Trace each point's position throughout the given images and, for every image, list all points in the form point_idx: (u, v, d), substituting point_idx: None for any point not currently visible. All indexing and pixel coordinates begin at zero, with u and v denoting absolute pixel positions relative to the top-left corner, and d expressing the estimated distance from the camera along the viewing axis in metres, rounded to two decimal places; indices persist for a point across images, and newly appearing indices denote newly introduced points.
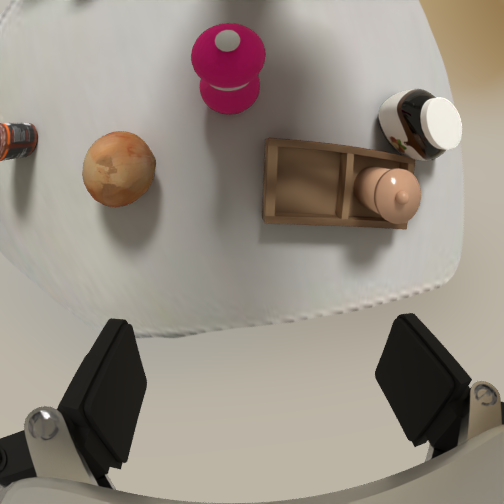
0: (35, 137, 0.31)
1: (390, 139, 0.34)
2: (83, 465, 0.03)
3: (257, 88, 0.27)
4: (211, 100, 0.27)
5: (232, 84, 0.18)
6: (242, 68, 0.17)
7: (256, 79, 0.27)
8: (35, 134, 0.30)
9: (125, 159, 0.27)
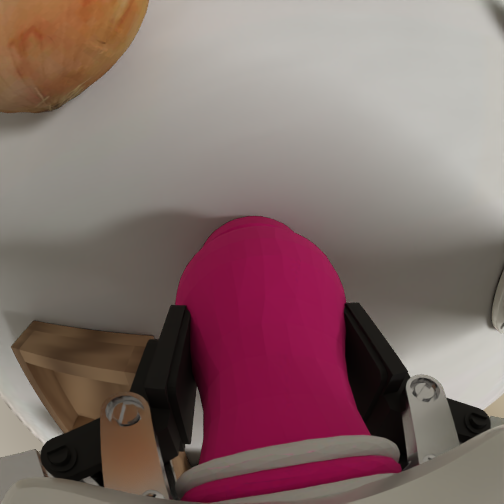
0: None
1: None
2: (159, 458, 0.04)
3: None
4: (195, 300, 0.09)
5: None
6: None
7: None
8: None
9: None
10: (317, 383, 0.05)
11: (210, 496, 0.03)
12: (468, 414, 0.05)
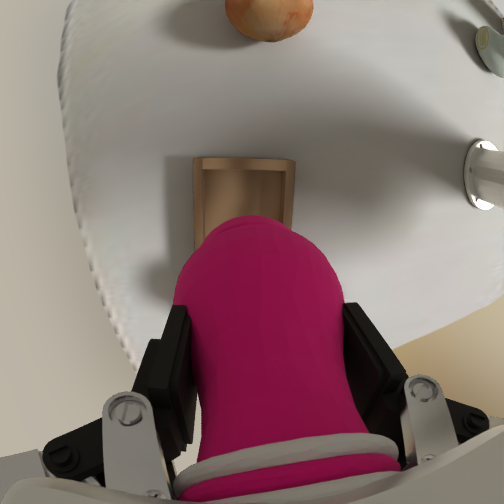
0: None
1: None
2: (161, 459, 0.04)
3: None
4: (193, 299, 0.09)
5: None
6: None
7: None
8: None
9: (286, 8, 0.18)
10: (314, 381, 0.05)
11: (208, 494, 0.03)
12: (467, 415, 0.05)
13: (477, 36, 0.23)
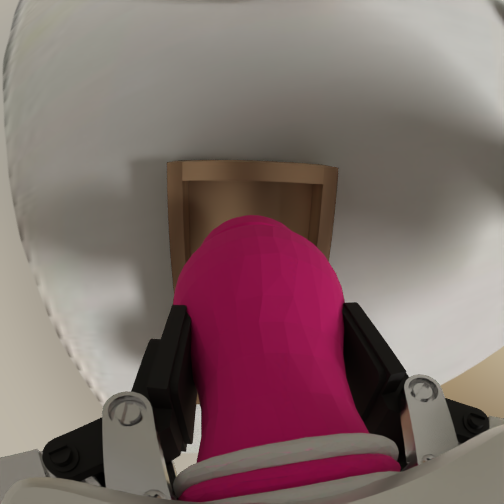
0: None
1: None
2: (161, 458, 0.04)
3: None
4: (193, 299, 0.09)
5: None
6: None
7: None
8: None
9: None
10: (314, 381, 0.05)
11: (208, 495, 0.03)
12: (467, 415, 0.05)
13: None
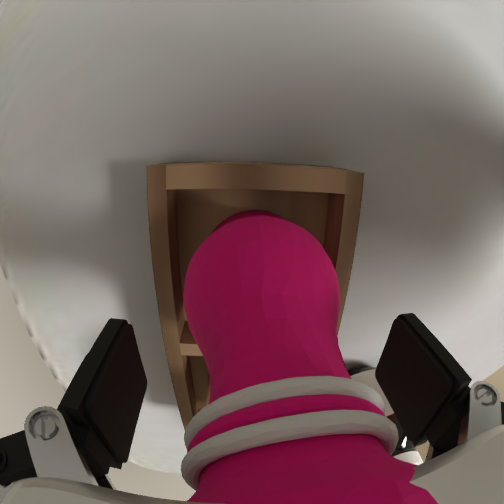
0: None
1: None
2: (83, 465, 0.03)
3: None
4: (203, 279, 0.10)
5: None
6: None
7: None
8: None
9: None
10: (308, 341, 0.07)
11: (216, 431, 0.04)
12: None
13: None
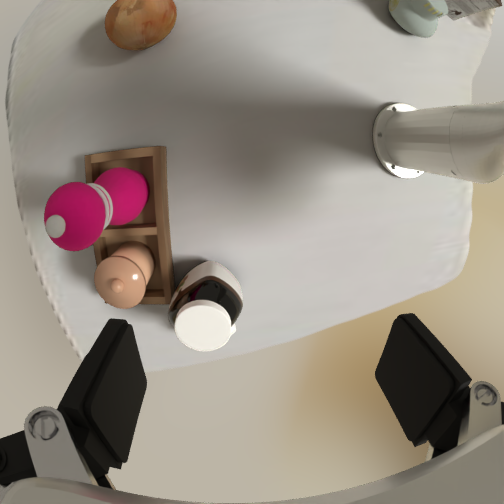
0: None
1: (186, 276, 0.39)
2: (83, 465, 0.03)
3: (111, 224, 0.30)
4: None
5: None
6: (50, 237, 0.18)
7: (116, 224, 0.30)
8: None
9: (139, 20, 0.21)
10: (102, 186, 0.24)
11: None
12: None
13: (391, 0, 0.26)
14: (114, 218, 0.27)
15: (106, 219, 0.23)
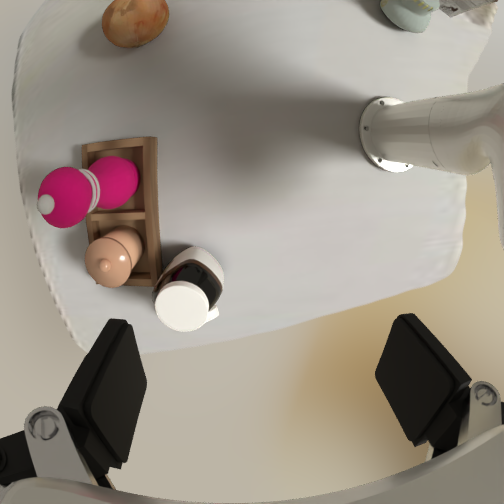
0: None
1: (172, 260, 0.41)
2: (83, 465, 0.03)
3: (102, 208, 0.32)
4: None
5: None
6: (42, 214, 0.20)
7: (106, 207, 0.31)
8: None
9: (132, 20, 0.22)
10: (92, 172, 0.26)
11: None
12: None
13: None
14: (103, 201, 0.28)
15: (93, 201, 0.24)
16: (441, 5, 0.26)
